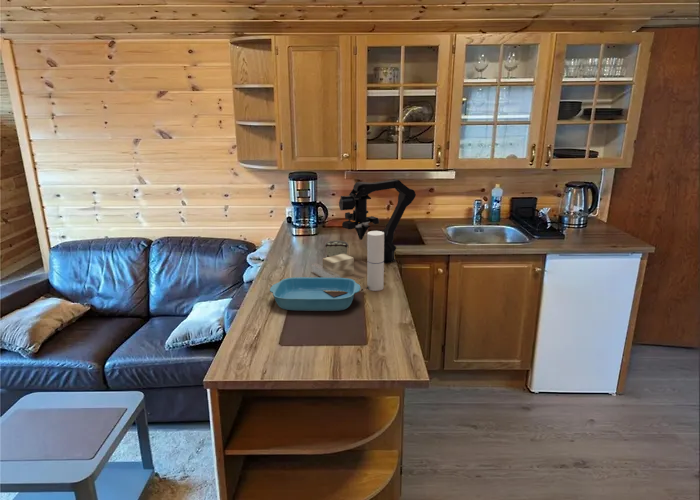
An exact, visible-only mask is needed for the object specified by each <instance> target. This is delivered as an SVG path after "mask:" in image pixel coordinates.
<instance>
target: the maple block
mask: <svg viewBox="0 0 700 500" xmlns="http://www.w3.org/2000/svg"><path fill="white" fill-rule="evenodd" d="M354 261H355V257H353V256H350V255H348V254H347V255H346V254H339V255H335V256H331V257H327V256H326V257H324V258H322V266H323V267H324V268H326V269H328V270H330V271H332V272H334V273H336V274H338V275H340V278H341V277H345V276H349V275H352V274H354Z"/></svg>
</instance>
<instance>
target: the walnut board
mask: <svg viewBox="0 0 700 500" xmlns="http://www.w3.org/2000/svg"><path fill="white" fill-rule="evenodd" d="M385 272H386V271H385V270H384V273H385ZM311 274H312V275H315V276H316V277H320V276H318V275H316V274H314V273H312V271H311ZM341 278H349V279H352V280H354V281H356V280H359V279H363V278H367V262H365V261H363V260H361V259H360V260H354V274H352V275H349V276H345V277H341Z"/></svg>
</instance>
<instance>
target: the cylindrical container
mask: <svg viewBox="0 0 700 500" xmlns="http://www.w3.org/2000/svg"><path fill="white" fill-rule="evenodd" d="M382 231H383V230H381V231H380V230H371V231H367V235H366V236H367V239H366V241H367V244H366V245H367V246H366V247H367V249H366V251H367V253H366V254H367V258H366V259H367V262H366V263H367V277H366V279H367V280H366V281H367V282H366V283H367V284H366V285H367V289H368V290H369V291H374V292H379V291H382V290H383V289H384V283H385V282H384V279H385V272H384V271H385V263H384V232H382Z"/></svg>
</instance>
